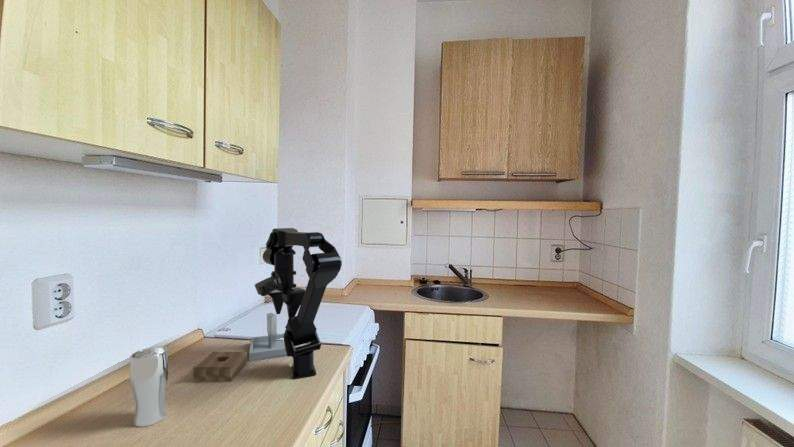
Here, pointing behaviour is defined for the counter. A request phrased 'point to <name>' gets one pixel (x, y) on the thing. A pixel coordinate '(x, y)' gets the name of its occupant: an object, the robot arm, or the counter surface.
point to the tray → (266, 348)
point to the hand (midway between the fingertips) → (284, 317)
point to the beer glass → (149, 384)
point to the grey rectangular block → (271, 329)
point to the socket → (220, 367)
